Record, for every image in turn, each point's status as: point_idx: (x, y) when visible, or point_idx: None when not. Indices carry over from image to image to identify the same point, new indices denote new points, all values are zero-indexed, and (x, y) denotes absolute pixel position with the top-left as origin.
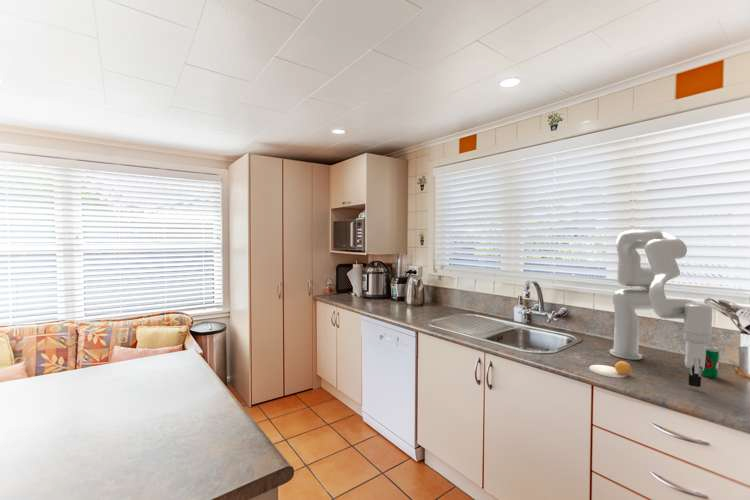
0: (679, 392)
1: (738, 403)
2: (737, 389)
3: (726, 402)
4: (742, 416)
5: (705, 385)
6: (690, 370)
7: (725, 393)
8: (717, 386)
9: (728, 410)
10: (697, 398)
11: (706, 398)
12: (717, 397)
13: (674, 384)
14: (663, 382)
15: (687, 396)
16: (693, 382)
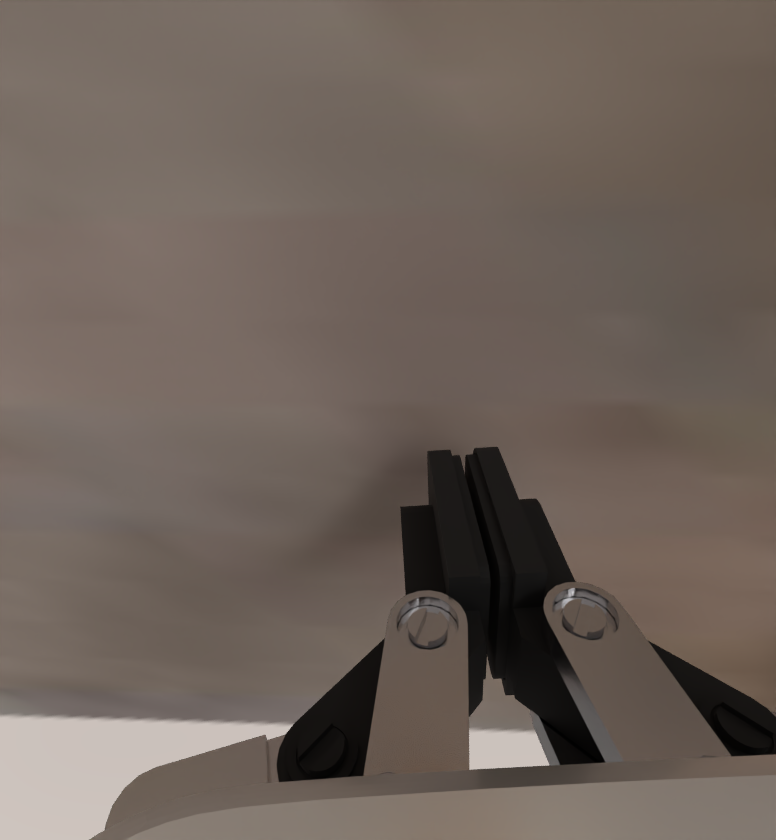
0: (162, 321)
1: None
2: None
3: (268, 658)
4: (24, 713)
5: (690, 550)
6: (427, 699)
7: None
8: (716, 623)
9: (60, 661)
10: (134, 489)
11: (226, 552)
12: (351, 616)
13: (498, 250)
14: (488, 68)
15: (93, 405)
16: (404, 532)
